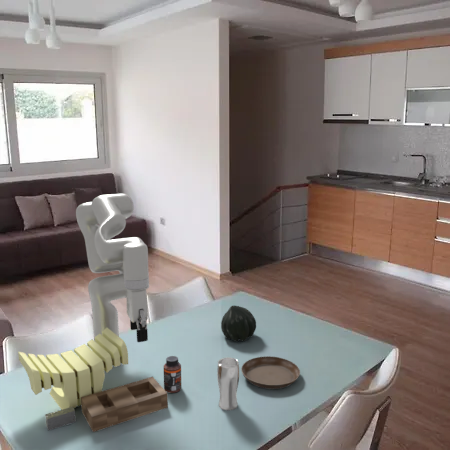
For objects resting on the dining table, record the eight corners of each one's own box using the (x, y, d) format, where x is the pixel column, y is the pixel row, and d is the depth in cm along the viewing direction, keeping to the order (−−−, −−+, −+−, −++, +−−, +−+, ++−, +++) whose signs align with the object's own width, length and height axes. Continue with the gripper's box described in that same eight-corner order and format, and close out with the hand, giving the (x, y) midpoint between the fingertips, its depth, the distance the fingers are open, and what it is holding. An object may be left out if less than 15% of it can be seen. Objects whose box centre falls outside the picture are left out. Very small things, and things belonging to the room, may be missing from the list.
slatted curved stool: (38, 426, 144) (33, 371, 141) (23, 402, 157) (18, 351, 153) (129, 392, 162) (127, 343, 159) (109, 373, 175) (106, 327, 171)
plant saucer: (267, 358, 186) (267, 350, 185) (311, 377, 172) (311, 369, 171) (229, 377, 172) (229, 369, 171) (274, 401, 158) (274, 391, 157)
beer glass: (216, 399, 158) (216, 357, 155) (237, 398, 158) (238, 356, 155) (218, 412, 151) (217, 368, 148) (240, 411, 152) (240, 367, 149)
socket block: (81, 411, 151) (80, 397, 150) (152, 389, 164) (152, 376, 163) (93, 432, 141) (92, 417, 140) (167, 407, 154) (167, 393, 153)
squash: (268, 324, 203) (247, 295, 206) (250, 338, 191) (228, 307, 194) (246, 338, 211) (226, 310, 214) (228, 353, 199) (207, 323, 201)
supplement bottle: (178, 394, 161) (177, 363, 158) (161, 392, 162) (160, 361, 160) (183, 385, 166) (183, 355, 164) (167, 383, 168) (166, 353, 165)
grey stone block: (46, 426, 144) (45, 414, 144) (73, 418, 148) (72, 406, 148) (48, 431, 142) (47, 419, 141) (75, 422, 146) (74, 410, 145)
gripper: (119, 276, 155) (121, 326, 158) (129, 293, 139) (132, 348, 142) (142, 273, 157) (144, 323, 161) (155, 289, 142) (157, 344, 145)
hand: (139, 335), depth 151 cm, fingers open, 9 cm apart
